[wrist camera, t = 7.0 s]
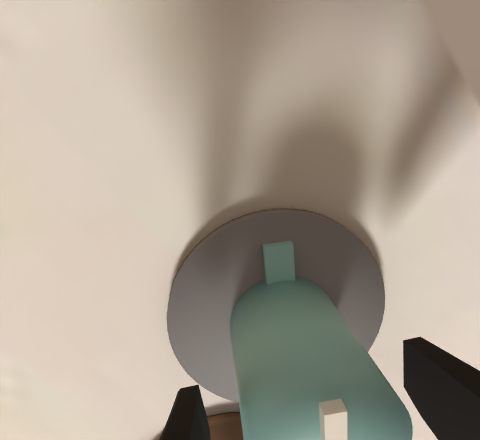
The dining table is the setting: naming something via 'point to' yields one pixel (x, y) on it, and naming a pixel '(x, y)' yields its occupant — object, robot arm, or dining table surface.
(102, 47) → the dining table surface
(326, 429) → the kettle
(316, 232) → the coaster
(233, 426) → the tan wide-brim hat
